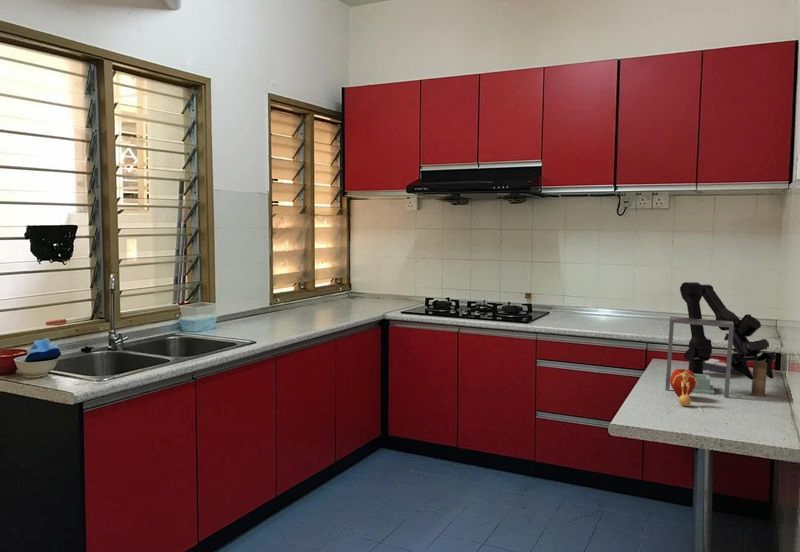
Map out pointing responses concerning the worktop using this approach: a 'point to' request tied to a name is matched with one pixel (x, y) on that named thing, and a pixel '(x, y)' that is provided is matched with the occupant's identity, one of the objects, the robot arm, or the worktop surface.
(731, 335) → the grey table frame
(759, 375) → the peg
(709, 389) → the socket block
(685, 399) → the figurine
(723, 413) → the worktop surface
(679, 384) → the apple
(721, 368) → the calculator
